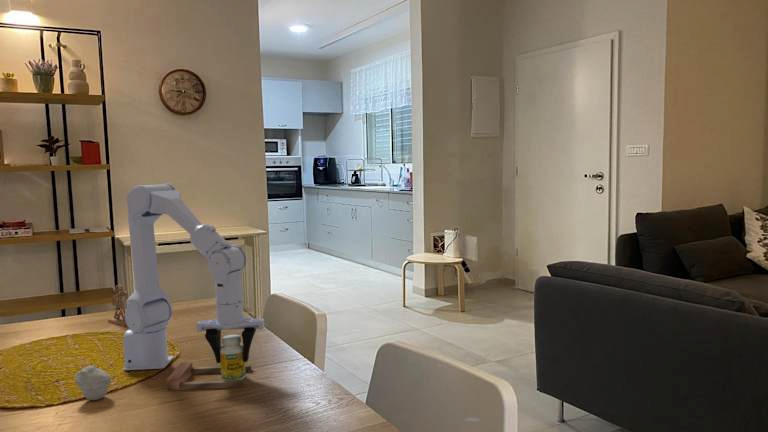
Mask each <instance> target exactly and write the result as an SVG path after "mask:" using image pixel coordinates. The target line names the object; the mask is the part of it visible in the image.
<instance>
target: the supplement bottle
mask: <svg viewBox="0 0 768 432" xmlns="http://www.w3.org/2000/svg"><path fill="white" fill-rule="evenodd" d="M241 337H242V336H241V335H240V334H226V335H224V336H223V337H221V344H222V346H221V348H220V363H219V364H220V366H221V373H220V374H221V381H222V380H245V379H246V376H247V372H246V369H245V365H246V362H244V359H243V350H244V349H243V343H241V342H242V340H241V339H242V338H241Z"/></svg>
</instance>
